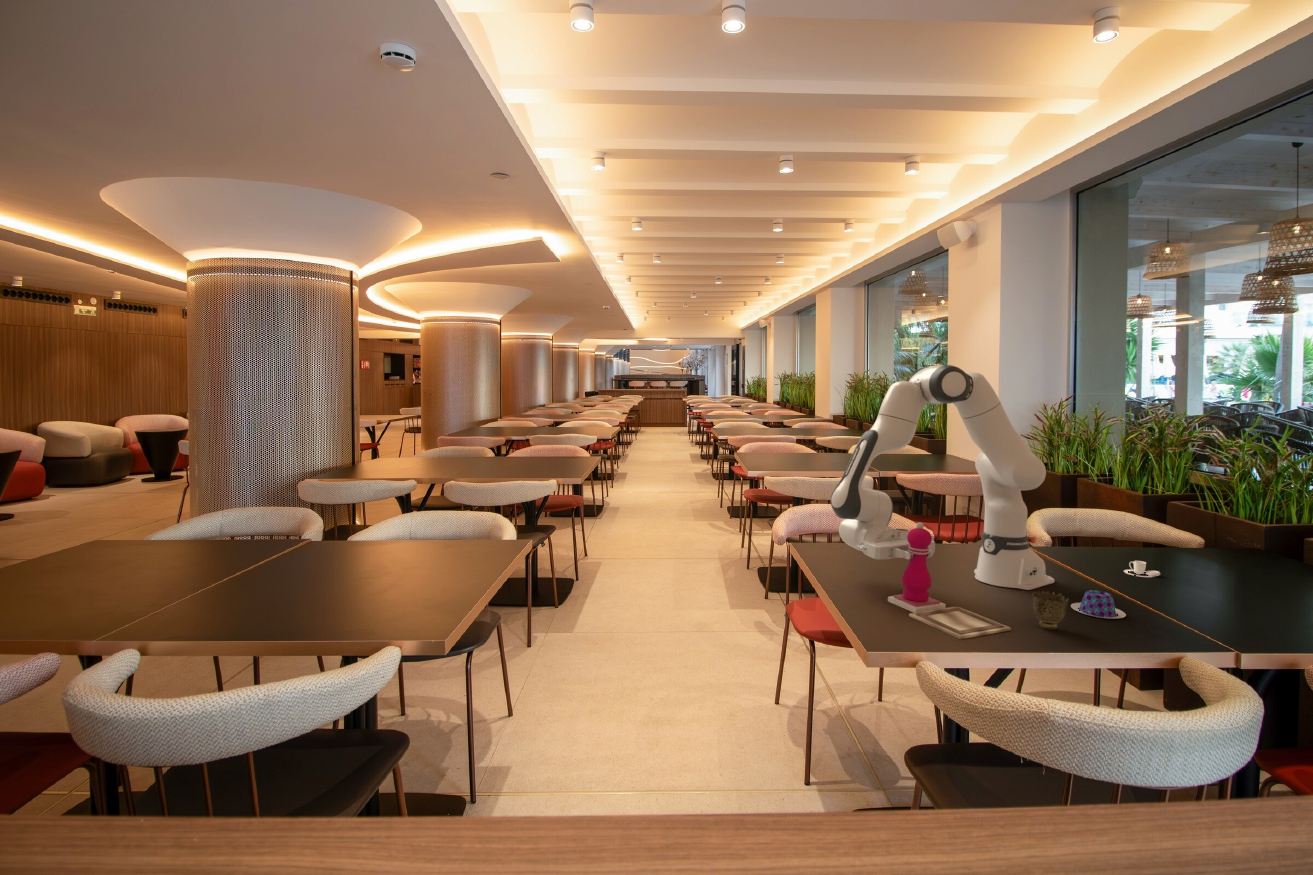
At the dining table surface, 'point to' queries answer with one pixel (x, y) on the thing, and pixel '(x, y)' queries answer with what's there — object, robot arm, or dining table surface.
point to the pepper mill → (917, 565)
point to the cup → (1049, 608)
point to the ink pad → (916, 604)
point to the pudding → (1098, 605)
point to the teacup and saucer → (1142, 569)
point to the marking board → (959, 622)
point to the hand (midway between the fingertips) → (920, 555)
